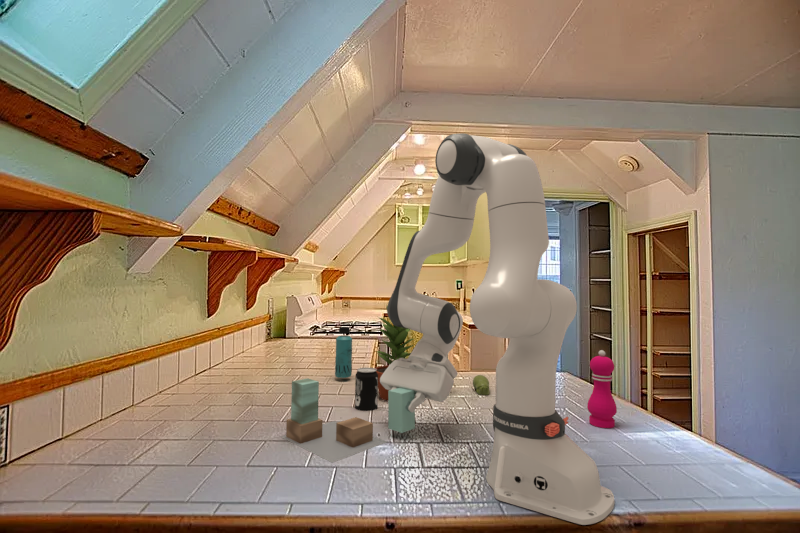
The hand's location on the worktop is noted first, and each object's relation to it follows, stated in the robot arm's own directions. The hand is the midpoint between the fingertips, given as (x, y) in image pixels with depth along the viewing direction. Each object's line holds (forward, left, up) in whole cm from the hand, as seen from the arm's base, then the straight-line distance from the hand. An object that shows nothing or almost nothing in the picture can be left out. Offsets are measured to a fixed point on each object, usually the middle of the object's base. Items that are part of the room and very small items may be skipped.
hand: (399, 408), depth 102 cm
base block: (+6, +9, -7) cm, 13 cm away
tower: (+16, +16, -7) cm, 24 cm away
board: (+10, +12, -8) cm, 17 cm away
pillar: (0, -1, -5) cm, 5 cm away
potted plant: (+27, -27, -8) cm, 39 cm away
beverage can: (+23, -10, -8) cm, 26 cm away
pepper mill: (-30, -48, -8) cm, 57 cm away
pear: (+11, -53, -8) cm, 54 cm away
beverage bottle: (+57, -29, -8) cm, 64 cm away
